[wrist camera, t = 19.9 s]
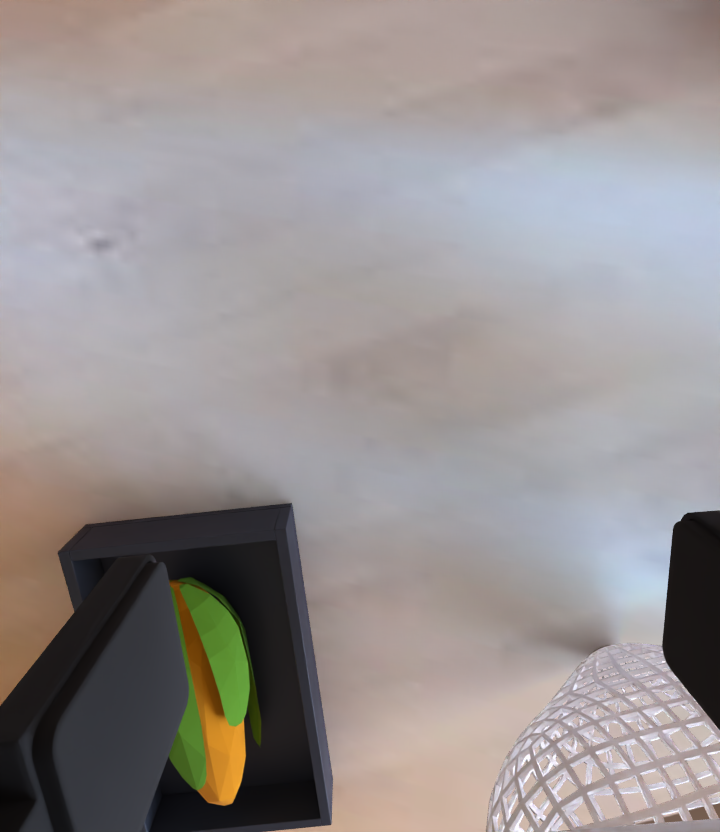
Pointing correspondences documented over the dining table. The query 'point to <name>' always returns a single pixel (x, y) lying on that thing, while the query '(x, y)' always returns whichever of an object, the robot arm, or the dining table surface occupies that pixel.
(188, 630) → the corn
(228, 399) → the dining table surface
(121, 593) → the robot arm
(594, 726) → the heart
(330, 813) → the black tray
